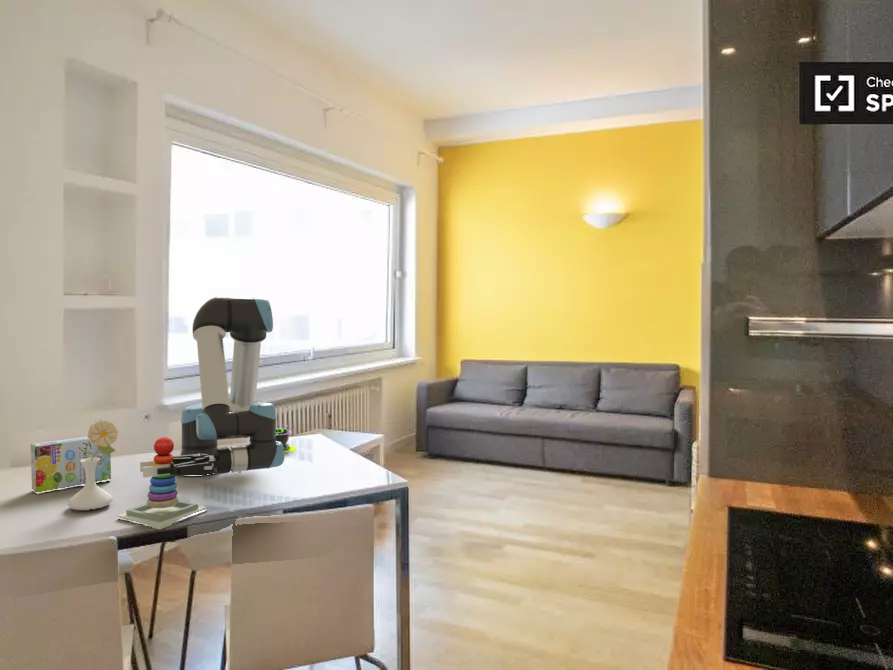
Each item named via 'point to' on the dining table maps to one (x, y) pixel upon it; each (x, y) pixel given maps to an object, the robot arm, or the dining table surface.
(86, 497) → the flower in vase
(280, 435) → the toy cauldron
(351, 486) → the dining table surface
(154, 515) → the base plate
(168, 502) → the stacking toy
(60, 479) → the snack box
